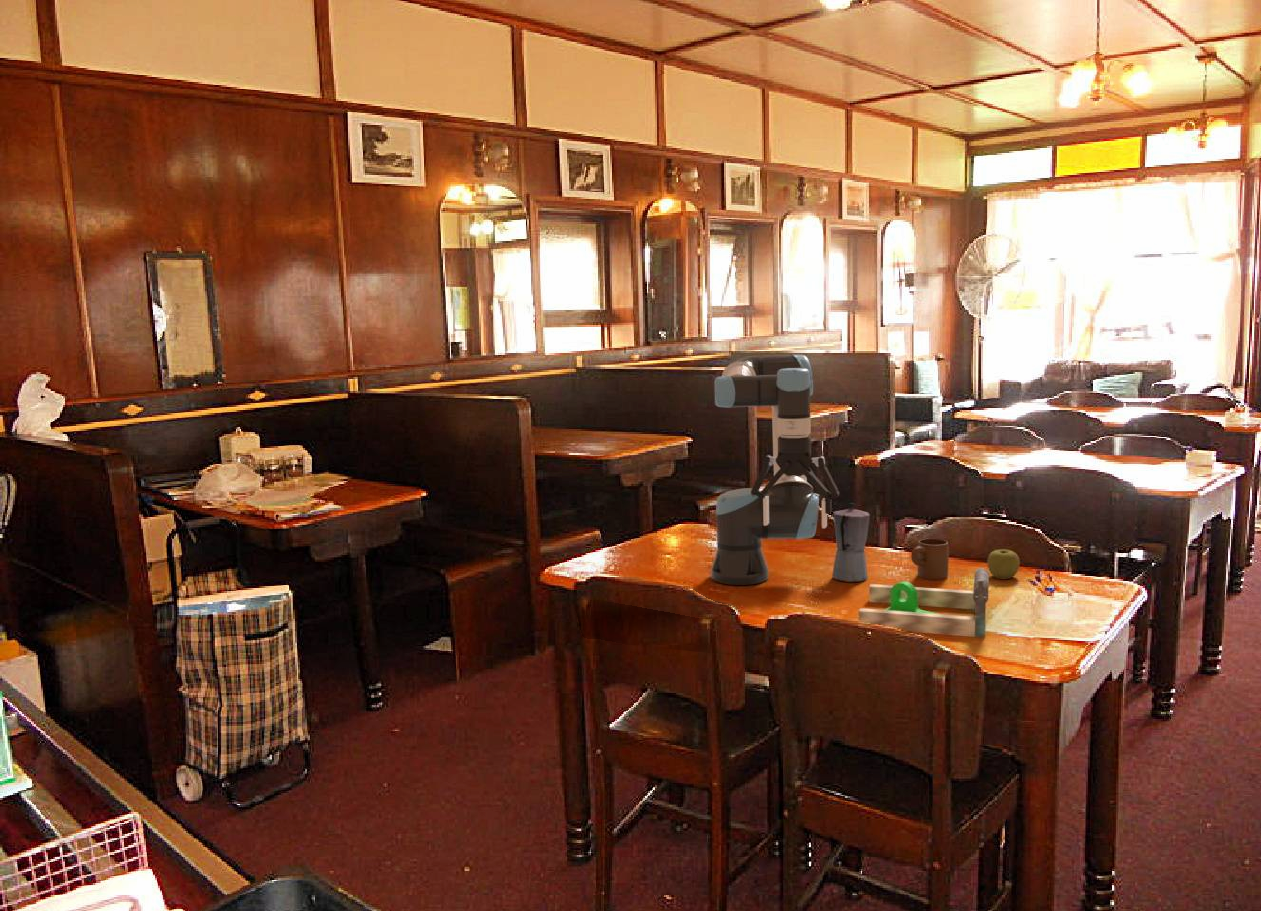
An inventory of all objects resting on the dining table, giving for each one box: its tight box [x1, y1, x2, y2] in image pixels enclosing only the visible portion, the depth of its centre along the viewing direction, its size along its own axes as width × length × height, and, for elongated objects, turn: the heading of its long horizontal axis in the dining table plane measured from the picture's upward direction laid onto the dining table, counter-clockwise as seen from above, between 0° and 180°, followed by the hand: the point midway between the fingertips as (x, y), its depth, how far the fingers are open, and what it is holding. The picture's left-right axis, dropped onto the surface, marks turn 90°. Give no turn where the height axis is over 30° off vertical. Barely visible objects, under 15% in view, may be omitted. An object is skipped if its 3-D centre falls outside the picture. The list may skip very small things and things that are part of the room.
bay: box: [858, 567, 990, 638], centre depth 209 cm, size 26×22×13 cm
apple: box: [986, 548, 1021, 580], centre depth 238 cm, size 8×8×7 cm
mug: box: [910, 538, 950, 581], centre depth 240 cm, size 12×8×9 cm, turn 125°
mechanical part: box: [884, 580, 944, 615], centre depth 209 cm, size 12×6×8 cm, turn 45°
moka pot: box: [832, 502, 871, 583], centre depth 241 cm, size 10×15×20 cm, turn 155°
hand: (795, 525), depth 218 cm, fingers open, 13 cm apart
